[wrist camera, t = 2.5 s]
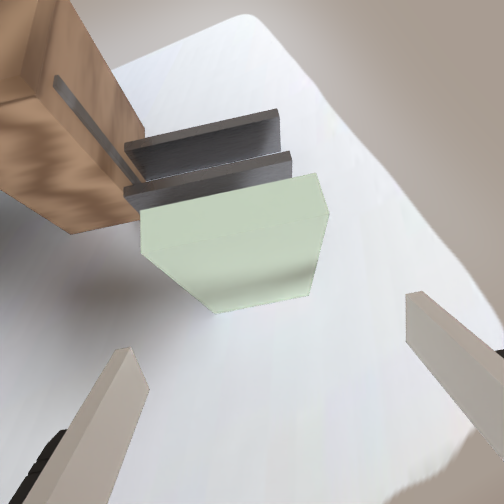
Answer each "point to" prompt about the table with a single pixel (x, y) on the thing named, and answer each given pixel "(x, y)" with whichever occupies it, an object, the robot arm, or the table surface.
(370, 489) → the table surface
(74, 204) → the walnut cabinet
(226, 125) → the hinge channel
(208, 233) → the cabinet door
